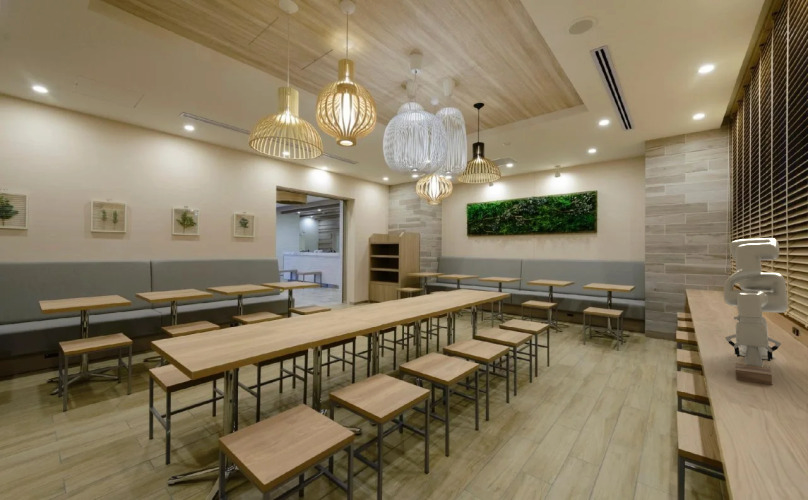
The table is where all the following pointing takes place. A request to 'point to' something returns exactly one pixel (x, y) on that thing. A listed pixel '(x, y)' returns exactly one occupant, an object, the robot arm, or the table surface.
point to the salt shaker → (753, 357)
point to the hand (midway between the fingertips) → (753, 358)
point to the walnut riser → (753, 374)
